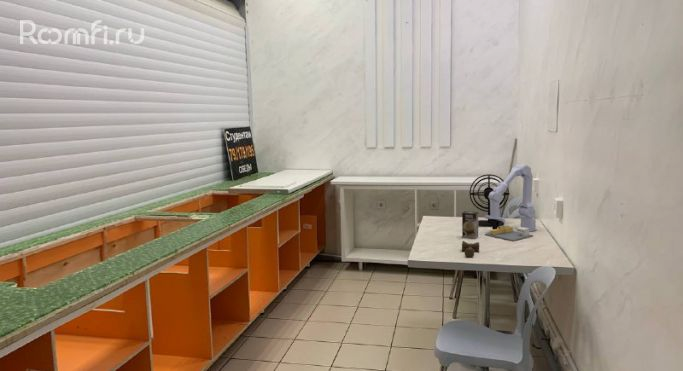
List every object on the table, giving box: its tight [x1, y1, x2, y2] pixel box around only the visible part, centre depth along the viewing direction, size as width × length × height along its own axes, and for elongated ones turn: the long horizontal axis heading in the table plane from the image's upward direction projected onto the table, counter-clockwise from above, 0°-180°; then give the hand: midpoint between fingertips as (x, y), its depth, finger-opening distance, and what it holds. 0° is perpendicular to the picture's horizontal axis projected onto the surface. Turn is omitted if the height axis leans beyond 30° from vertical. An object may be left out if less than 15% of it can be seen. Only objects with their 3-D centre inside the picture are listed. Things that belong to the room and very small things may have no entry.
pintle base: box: [484, 224, 534, 242], centre depth 317 cm, size 19×22×5 cm
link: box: [489, 225, 514, 235], centre depth 322 cm, size 16×6×3 cm, turn 123°
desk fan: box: [469, 173, 511, 227], centre depth 351 cm, size 27×18×35 cm, turn 75°
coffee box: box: [461, 211, 479, 240], centre depth 318 cm, size 9×6×16 cm
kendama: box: [461, 240, 480, 258], centre depth 283 cm, size 6×10×20 cm
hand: (494, 230), depth 324 cm, fingers closed
